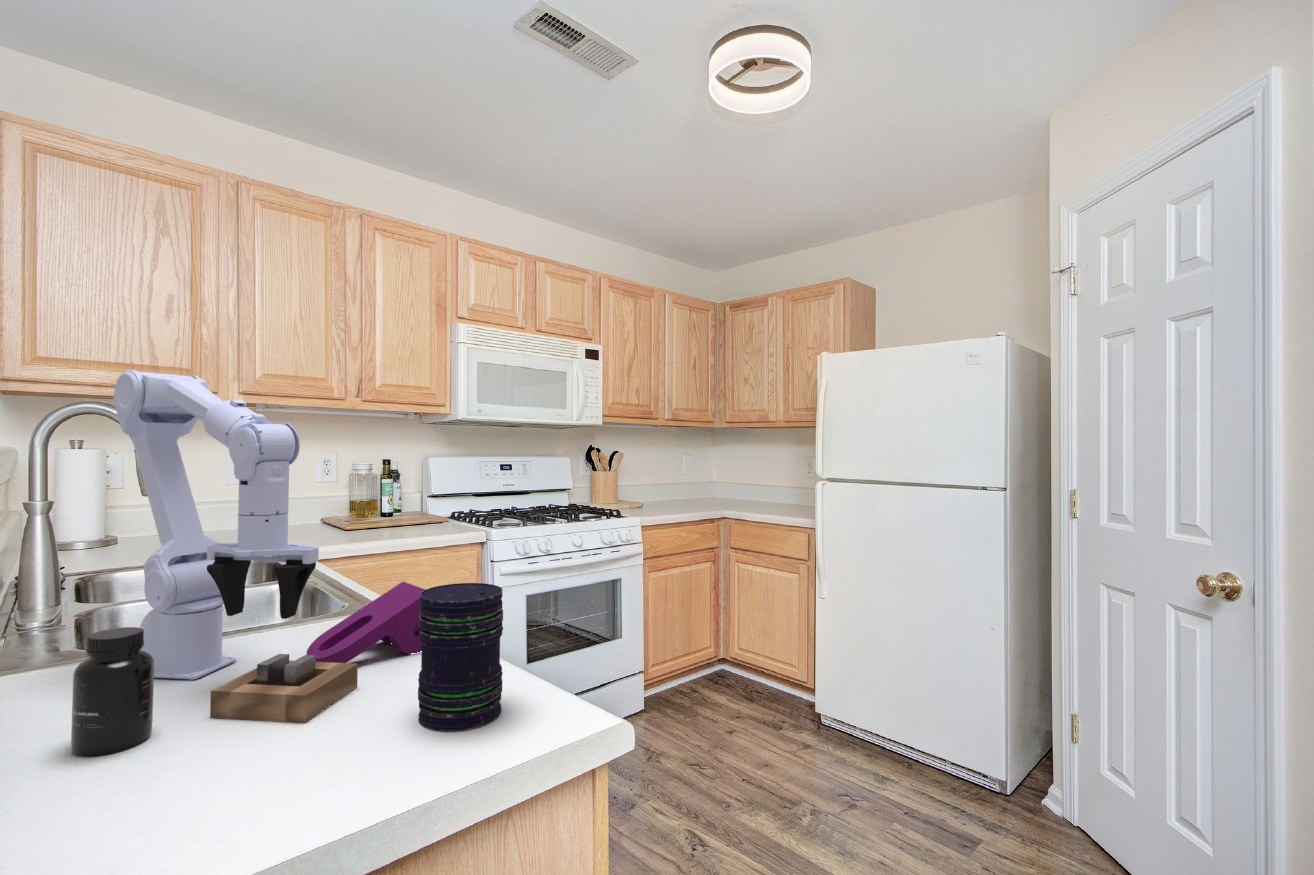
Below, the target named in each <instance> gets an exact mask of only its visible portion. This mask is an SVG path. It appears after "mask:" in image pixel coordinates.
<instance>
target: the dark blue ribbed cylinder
mask: <svg viewBox="0 0 1314 875" xmlns="http://www.w3.org/2000/svg"><path fill="white" fill-rule="evenodd" d="M502 598H503V588H502V587H501V586H498V585H496V584H490V583H481V582H463V583H462V582H461V583H449V584H443V585H442V584H441V585H438V586H433V587H430V588H429V587H428V588H426V590H424V591H422V592H421V593H420V602H421V606H420V615H419V626H420V632H419V637H420V642H421V643H422V653H421V660H420V661H421V665H420V671H419V673H418V679H417V681H418V687H417V699H418V708H419V713H418V723H419V724H420V726H422V727H423V728H425V729H427V730H430V731H434V732H441V733H442V732H443V733H455V732H456V733H457V732H465V731H471V730H475V729H479V728H482V727H485V726H487V725H489V724H491V723H492V722H494V721H496V720H498V718H499V717H500V716H501V713H502V704H501V700H502V692H503V678H502V677H503V666H502V665H501V637H502V635H503V630H504V626H503V621H504V610H503V600H502Z"/></svg>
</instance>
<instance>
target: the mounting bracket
mask: <svg viewBox="0 0 1314 875" xmlns="http://www.w3.org/2000/svg"><path fill="white" fill-rule="evenodd" d="M426 589H427V588H426ZM426 589H425V588H422V587H419V586H417V585H414V584H411V583H408V582H405V581H402V582H400V583H399V584H397V585H396V586H395V585H394V586H393V587H392V588H390V589H389V590H387V591H386V592H385V593H383V594H381V595H380V596H378V597H377V598H375V599H373V600H372V601H370V602H369V603H367V604H366V605H365V606H363V607H361V608H360V609H358V610H357V611H355V612H354V613H351V615H349V616H347V617H346V618H344V619H343V620H341V621H340V622H338V623H337V624H335V625H333V626H332V627H331V628H329V629H327V630H326V631H324V632H323V633H322V634H320V635H319V636H318V637H317V638H315V639H314V640H313V641H312V642H311V644H310V645H309V646H308V647H307V650H306V654H305V655H315V662H333V663H349V661H352V660H354V659H355V658H357V657H358V656H359V655H361V654H363V653H364V652H366V650H368V649H369V648H371V647H372V646H374V645H375V644H377V643H378V642H379V641H381V642H383V643H385V644H387V645H391V643H392V644H393V645H392V646H393V647H395V649H397V650H399V651H401V652H403V653H404V654H407V655H409V654H411V653H417V652H420V651H422V643H421V642H420V637H419V632H420V626H419V615H420V606H421V602H420V593H421V592H422V591H424V590H426Z"/></svg>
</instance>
